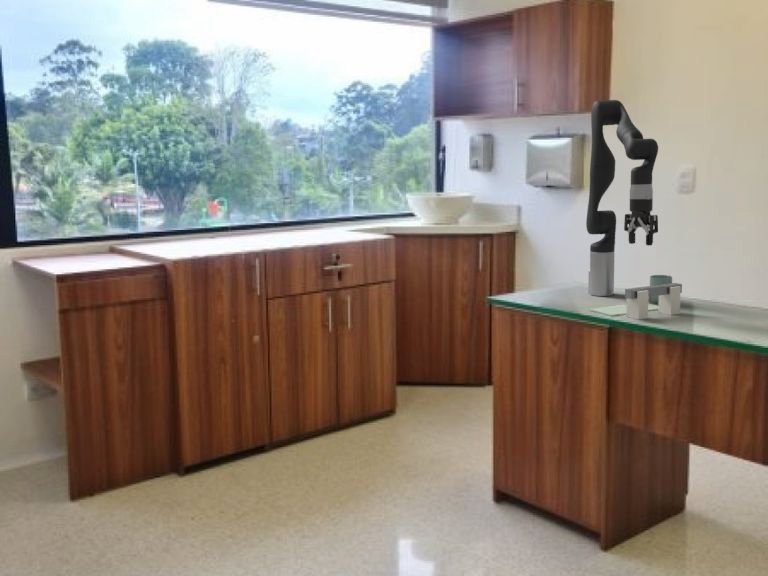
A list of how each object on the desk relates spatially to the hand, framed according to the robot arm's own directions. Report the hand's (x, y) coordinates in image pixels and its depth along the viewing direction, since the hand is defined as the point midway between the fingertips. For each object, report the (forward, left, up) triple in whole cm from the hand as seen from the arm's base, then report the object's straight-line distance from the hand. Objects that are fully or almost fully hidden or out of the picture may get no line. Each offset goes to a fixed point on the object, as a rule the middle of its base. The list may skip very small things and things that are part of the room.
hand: (640, 244), depth 267 cm
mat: (-4, -1, -24) cm, 24 cm away
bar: (+8, 0, -17) cm, 18 cm away
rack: (+8, 0, -24) cm, 25 cm away
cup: (-7, +17, -24) cm, 30 cm away
